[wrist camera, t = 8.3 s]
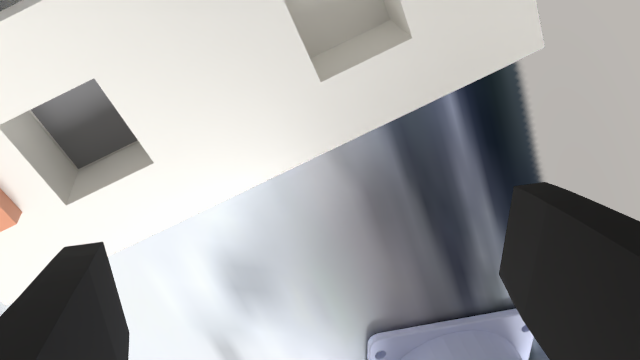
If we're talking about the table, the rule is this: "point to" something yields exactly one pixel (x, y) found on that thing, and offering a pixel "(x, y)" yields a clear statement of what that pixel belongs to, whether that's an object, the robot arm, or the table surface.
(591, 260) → the robot arm
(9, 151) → the power strip
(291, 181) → the table surface
